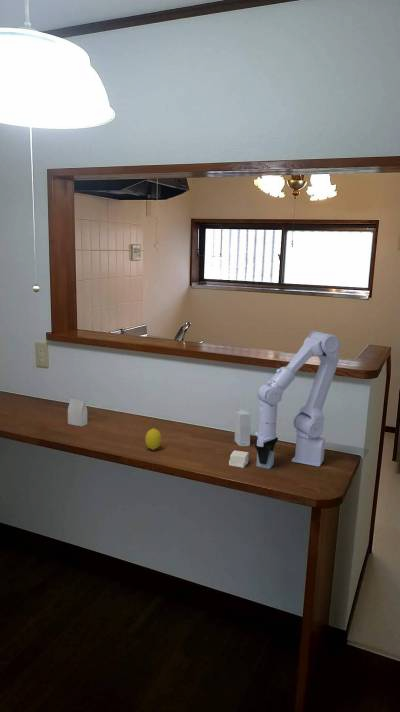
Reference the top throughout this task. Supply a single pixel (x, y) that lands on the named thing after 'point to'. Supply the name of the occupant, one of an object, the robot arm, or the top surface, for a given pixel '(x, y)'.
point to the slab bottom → (238, 464)
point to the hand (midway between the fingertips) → (265, 461)
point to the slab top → (239, 456)
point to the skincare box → (242, 427)
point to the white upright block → (77, 412)
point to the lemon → (153, 438)
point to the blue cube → (269, 461)
